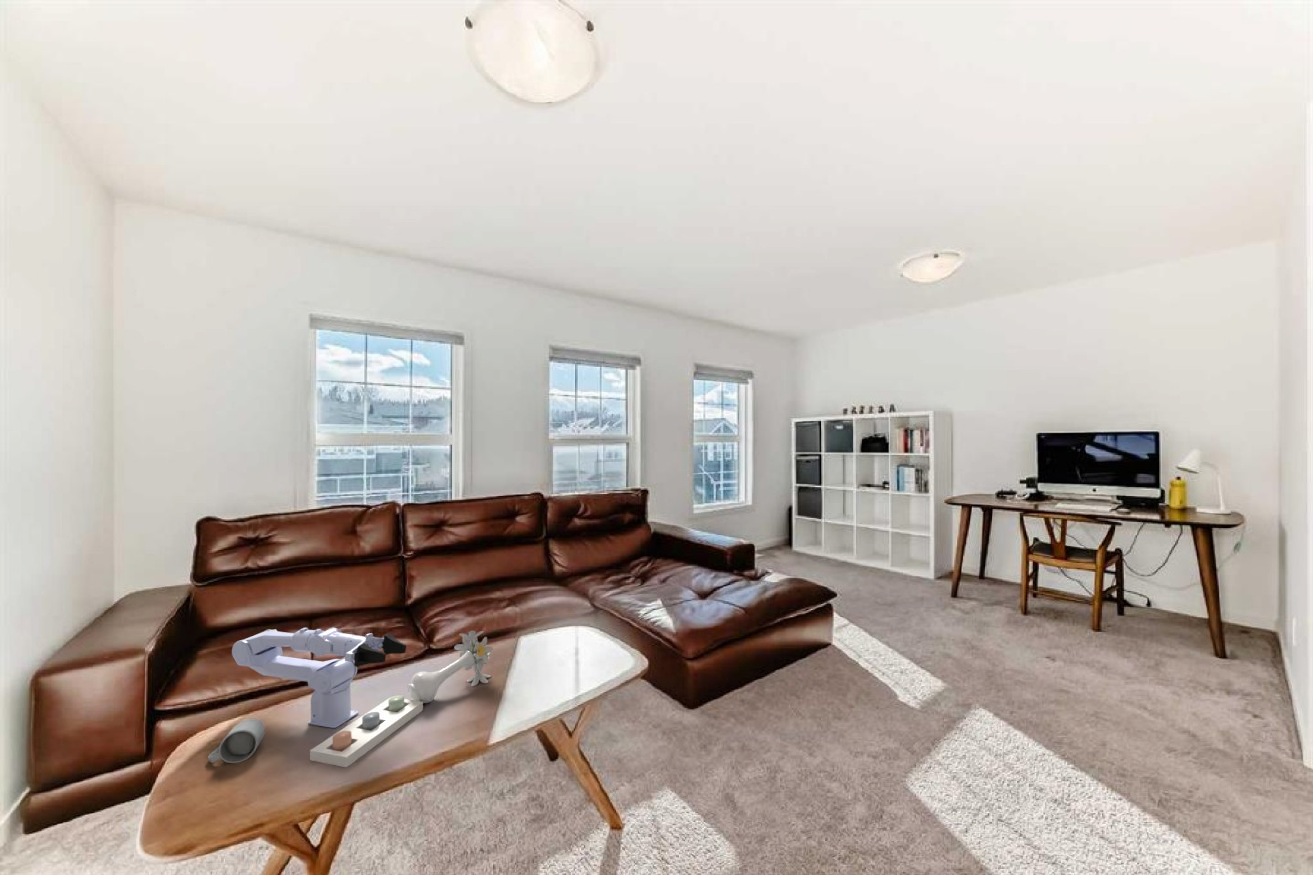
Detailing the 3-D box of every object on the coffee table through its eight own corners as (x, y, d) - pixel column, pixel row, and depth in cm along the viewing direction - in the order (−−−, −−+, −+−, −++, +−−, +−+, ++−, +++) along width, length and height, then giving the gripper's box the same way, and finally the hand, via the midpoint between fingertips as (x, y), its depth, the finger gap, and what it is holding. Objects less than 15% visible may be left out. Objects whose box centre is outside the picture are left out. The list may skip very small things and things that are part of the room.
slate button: (358, 730, 134) (358, 718, 134) (371, 722, 138) (370, 710, 138) (371, 733, 133) (371, 720, 133) (383, 724, 137) (382, 712, 137)
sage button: (385, 712, 142) (385, 701, 142) (395, 705, 146) (395, 694, 146) (397, 714, 141) (396, 703, 141) (407, 707, 145) (407, 696, 145)
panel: (310, 759, 124) (310, 750, 124) (391, 705, 149) (391, 696, 149) (346, 767, 121) (346, 757, 121) (422, 709, 146) (422, 701, 146)
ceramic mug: (267, 740, 132) (266, 711, 132) (257, 758, 125) (256, 727, 125) (215, 752, 128) (214, 721, 128) (202, 771, 120) (201, 739, 120)
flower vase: (428, 731, 148) (502, 678, 165) (416, 681, 142) (494, 632, 159) (408, 708, 156) (481, 660, 174) (395, 660, 150) (472, 615, 167)
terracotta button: (328, 751, 125) (328, 738, 125) (342, 742, 129) (342, 729, 129) (341, 754, 124) (341, 741, 124) (355, 744, 128) (355, 731, 128)
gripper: (333, 638, 134) (376, 646, 131) (374, 624, 148) (415, 630, 145) (329, 666, 133) (373, 674, 130) (371, 649, 147) (412, 656, 144)
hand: (395, 653), depth 137 cm, fingers open, 7 cm apart
